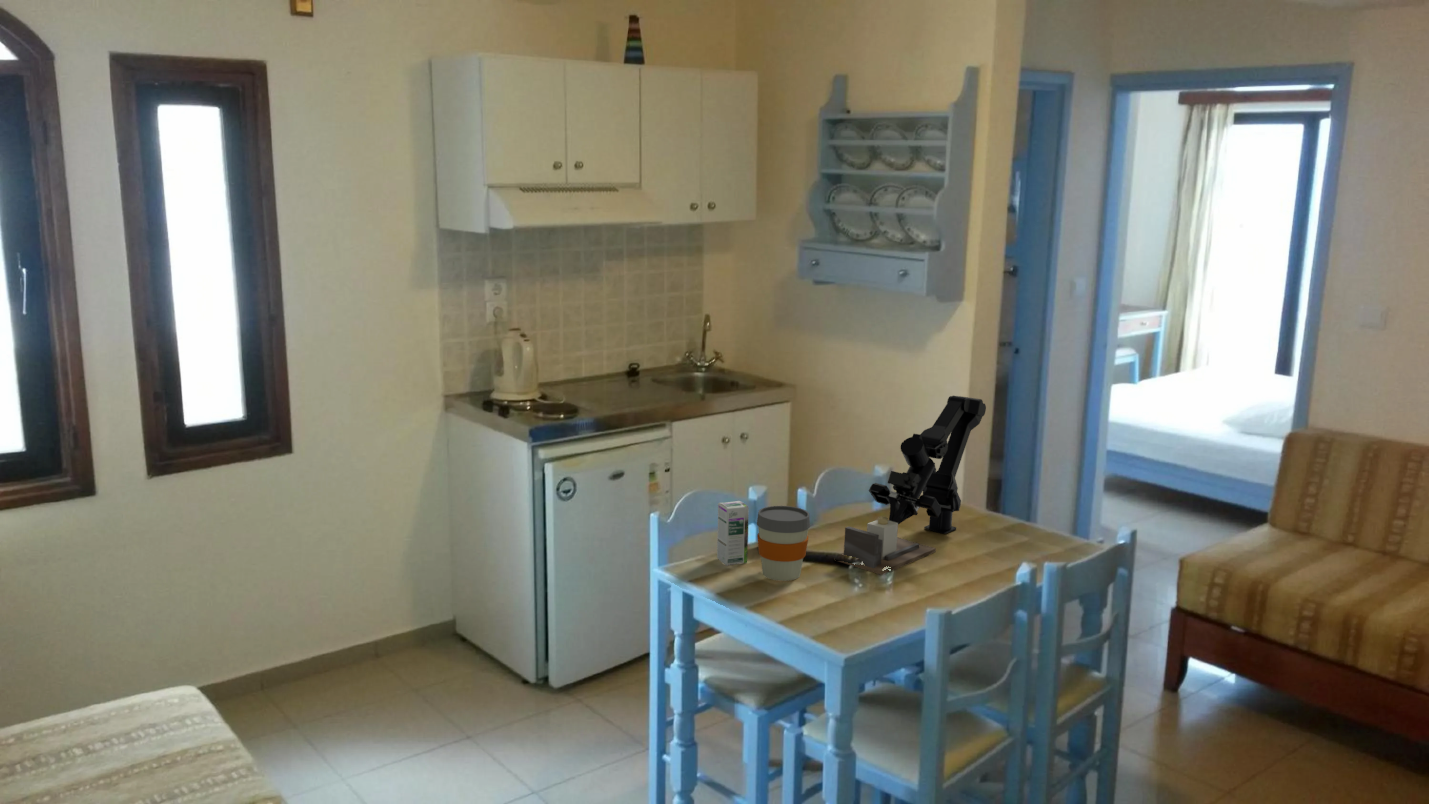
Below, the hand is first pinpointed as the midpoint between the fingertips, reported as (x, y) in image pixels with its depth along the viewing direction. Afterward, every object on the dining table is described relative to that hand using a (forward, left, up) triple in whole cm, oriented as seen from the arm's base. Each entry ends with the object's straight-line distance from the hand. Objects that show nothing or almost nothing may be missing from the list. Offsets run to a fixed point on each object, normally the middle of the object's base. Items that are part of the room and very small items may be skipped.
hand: (890, 527), depth 272 cm
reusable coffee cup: (+30, -10, -7) cm, 32 cm away
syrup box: (+32, -24, -7) cm, 41 cm away
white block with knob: (+3, 0, -6) cm, 7 cm away
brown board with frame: (+1, 0, -7) cm, 7 cm away
